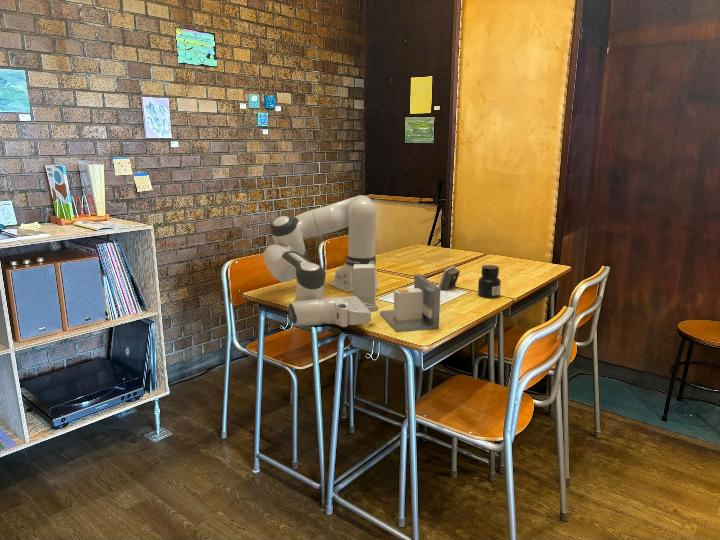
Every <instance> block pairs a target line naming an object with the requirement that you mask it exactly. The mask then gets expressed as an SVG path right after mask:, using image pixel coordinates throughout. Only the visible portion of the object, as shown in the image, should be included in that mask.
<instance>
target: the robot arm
mask: <svg viewBox="0 0 720 540" xmlns="http://www.w3.org/2000/svg"><path fill="white" fill-rule="evenodd" d="M376 210H377V209H376V207H375V204H374V202H373V200H372V199H371V198H370V197H368V196H367V195H362V194H359V195H357V196H353V197H350V198H347V199H343V200H341V201H337V202H334V203H332V204H329V205H325V206H324V205H323V206H321V207H318V208H317V207H316V208H314V209H310V210H307V211H304V212H302V213H300V214H297V215H296V216H291V215H286V214H285V215H280V216H276V217H275V218H274V219H273V220H272V221H271V223H270V225H269V229H270V234H271V235H272V238H273V242H274V244H270V245H268V246H267V247H266V249H264V252H263V261H264V263H265V266H266V268H267V269H268V271H269V273H270V274H271V275H272V276H273V278H274V279H276V280H277V281H279V282H282V283H289V282H292V281H293V280H295V279H296V281H295V284H296V285H295V288H296V289H295V290H296V291H295V298H294V300H293V301H292V302H290V303H289V304H288V309H287V310H288V317H289V320H290V322H291V323H292V324H293V325H296V326H318V325H321V324H326V325H338V326H340V327H341V328H346V327H348V326H355V325H356V326H357V325H365V324H369V323H371V321H372V313H374V312H378V311H379V307H378V306H377V304H376V303H375V304H367V303H362V302H361V301H360V299H359V298H358V297H357V296H354V295H348V296H337V297H336V296H335V297H326V298H324V297H325V296H324V295H325V282H326V275H327V273H326V270H325V269H324V268H323V266H321V265H320V264H317V263H316V262H312V261H311V260H310V259H308V258H307V257H308V254H307V253H308V252H307V248H306V245H305V242H304V239H306V238H314V237H318V236H321V235H326V234H330V233H333V232H337V231H340V230H342V229H344V228H347V227H348V255H346V256H344V260H345V263H344V264H343V265H342V266H341V267H339V268H338V269H336V271H335V273H334V279H332V280H331V281H329V283H328V284H330V286H331V285H332V287H333V286H334V288H336V289H338V290H340V289H341V290H340V291H342V290H343V292H344V293H354V278H353V267H354V264H374V266H375V291H376V290H378V289H379V283H378V278H377V269H376V263H377V258H376V257H377V256H376V255H375V254H376V253H375V252H376V249H375V248H376V219H377V218H376V217H377V216H376V214H377V211H376Z"/></svg>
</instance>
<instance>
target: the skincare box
mask: <svg viewBox="0 0 720 540" xmlns="http://www.w3.org/2000/svg"><path fill="white" fill-rule="evenodd" d="M375 268H376V265H375V266H374V264H354V267H353V278H354V292H353V296H357V297H358V298H359V299H360V301H361V302H362V303H367V304H375V305H376V290H375Z"/></svg>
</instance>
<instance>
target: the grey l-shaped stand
mask: <svg viewBox="0 0 720 540" xmlns="http://www.w3.org/2000/svg"><path fill="white" fill-rule="evenodd" d="M413 279H414V284H413V288H419V289H420V290H421V291H423V304H422V319H416V320H403V321H397V320H396V319H395V318H394V309H389V310H387V309H386V310H380V311H379V314H380V315H381V316H382V318H383V319H384V320H385V322H387V323H388V324H389V325H390V326H391V327H392V328H393V329H394V331H395V332H396V333H401V332H411V331H421V330H422V331H423V330H433V329H434V330H435V329H439V328H440V310H441V309H440V306H441V290H440V288H439V286H437V285H436V284H434V283H433V282H432V281H431V280H428V279H427V278H426V277H425V276H423V275H422V274H419V273H418V274H414V278H413Z"/></svg>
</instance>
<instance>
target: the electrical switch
mask: <svg viewBox="0 0 720 540" xmlns="http://www.w3.org/2000/svg"><path fill="white" fill-rule="evenodd" d="M460 273H461V270H459V269H456V266H454V265H453V266H450V267H447V268H446V269H444V270H443V272H442V277H441V280H440V282H439V284H438V285H439V286H438V287H439V288H440V291H441V290H444V291H450V290H452V289H453V288H455V287H456V284H457V282H458V279H459V275H460Z"/></svg>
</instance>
